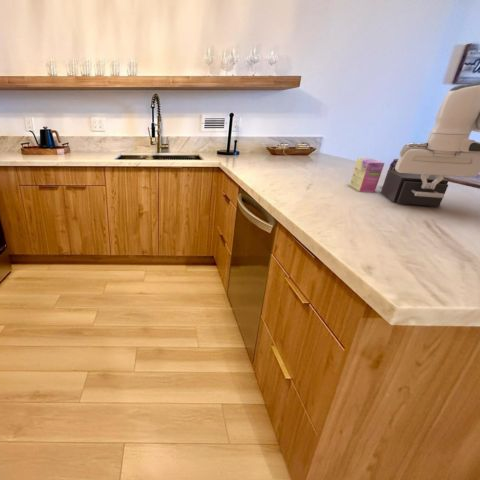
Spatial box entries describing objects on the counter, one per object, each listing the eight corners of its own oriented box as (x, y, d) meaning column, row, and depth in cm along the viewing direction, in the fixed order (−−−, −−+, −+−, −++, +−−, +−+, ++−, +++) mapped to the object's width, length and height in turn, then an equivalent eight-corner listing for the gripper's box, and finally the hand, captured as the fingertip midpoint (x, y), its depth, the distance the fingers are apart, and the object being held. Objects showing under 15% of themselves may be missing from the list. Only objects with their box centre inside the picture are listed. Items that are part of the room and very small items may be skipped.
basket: (446, 211, 90) (456, 188, 87) (403, 207, 94) (411, 185, 91) (422, 196, 106) (429, 176, 103) (385, 193, 110) (392, 174, 107)
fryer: (437, 207, 97) (448, 180, 93) (392, 203, 101) (401, 177, 97) (419, 196, 109) (428, 172, 105) (380, 193, 113) (388, 169, 109)
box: (375, 193, 113) (384, 162, 108) (359, 192, 114) (368, 162, 109) (363, 186, 122) (372, 158, 117) (349, 186, 123) (356, 158, 118)
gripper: (407, 143, 87) (392, 187, 93) (495, 146, 81) (472, 194, 86) (400, 141, 93) (385, 183, 98) (482, 144, 86) (461, 189, 92)
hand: (427, 188), depth 92 cm, fingers closed
